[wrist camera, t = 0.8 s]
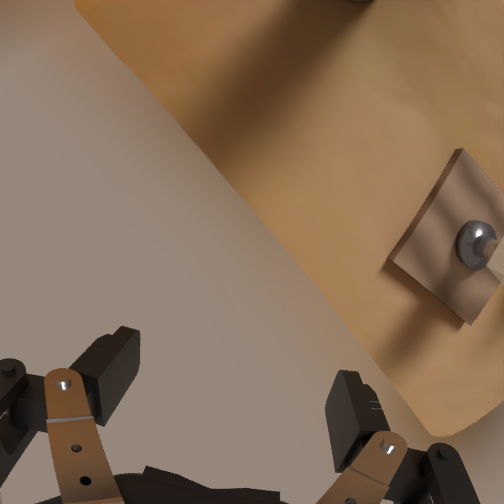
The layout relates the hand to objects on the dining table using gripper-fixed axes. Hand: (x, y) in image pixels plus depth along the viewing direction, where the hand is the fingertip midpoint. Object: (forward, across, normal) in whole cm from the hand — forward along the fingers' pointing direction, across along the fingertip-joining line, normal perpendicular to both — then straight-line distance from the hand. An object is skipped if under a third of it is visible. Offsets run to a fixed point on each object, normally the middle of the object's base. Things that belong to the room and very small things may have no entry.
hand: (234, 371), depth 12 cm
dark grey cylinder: (+27, -28, -5) cm, 39 cm away
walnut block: (+29, -28, -5) cm, 41 cm away
